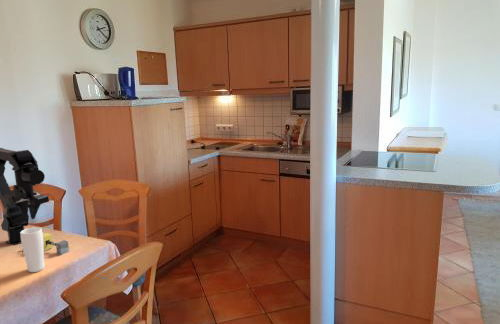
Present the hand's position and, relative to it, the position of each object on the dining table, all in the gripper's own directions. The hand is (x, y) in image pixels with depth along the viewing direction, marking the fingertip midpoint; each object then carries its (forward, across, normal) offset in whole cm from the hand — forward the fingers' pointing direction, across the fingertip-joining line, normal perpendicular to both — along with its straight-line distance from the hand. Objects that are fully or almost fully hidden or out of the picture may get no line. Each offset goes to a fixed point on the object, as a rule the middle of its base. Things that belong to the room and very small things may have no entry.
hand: (29, 218), depth 150 cm
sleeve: (+12, +7, 0) cm, 14 cm away
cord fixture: (+12, +9, 0) cm, 15 cm away
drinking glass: (+13, +20, -14) cm, 27 cm away
